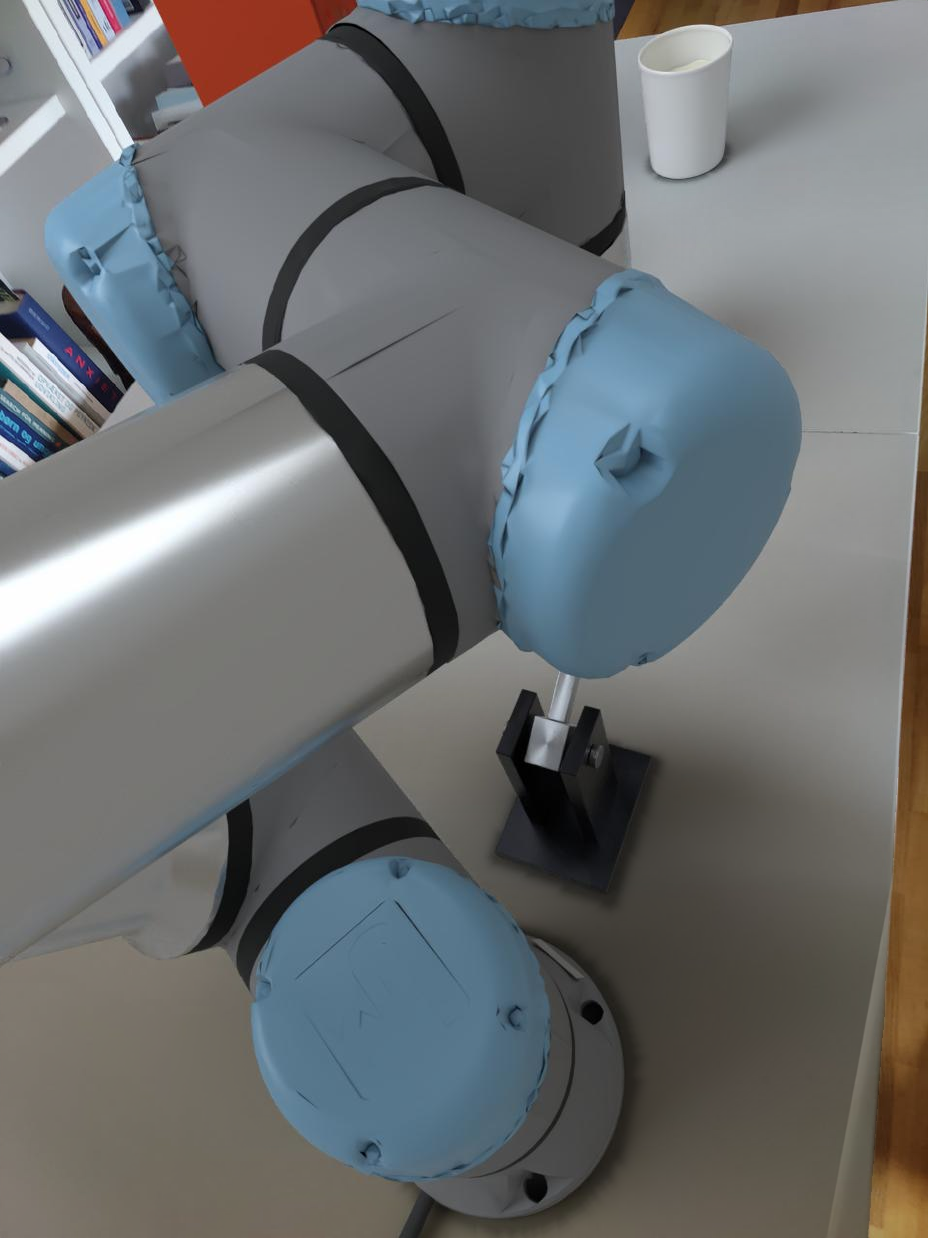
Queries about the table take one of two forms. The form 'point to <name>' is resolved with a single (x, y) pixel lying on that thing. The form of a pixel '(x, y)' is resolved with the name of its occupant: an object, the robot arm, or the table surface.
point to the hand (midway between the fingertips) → (602, 613)
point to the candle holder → (686, 98)
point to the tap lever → (554, 727)
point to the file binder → (243, 36)
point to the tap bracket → (569, 799)
